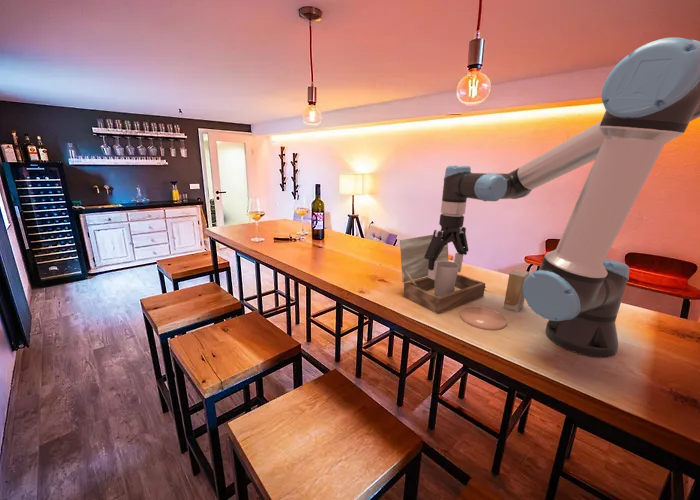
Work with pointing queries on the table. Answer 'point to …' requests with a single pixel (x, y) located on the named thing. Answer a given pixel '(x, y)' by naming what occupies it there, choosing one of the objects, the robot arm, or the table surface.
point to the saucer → (483, 318)
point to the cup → (445, 277)
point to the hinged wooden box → (418, 268)
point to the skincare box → (515, 290)
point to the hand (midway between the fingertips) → (444, 274)
